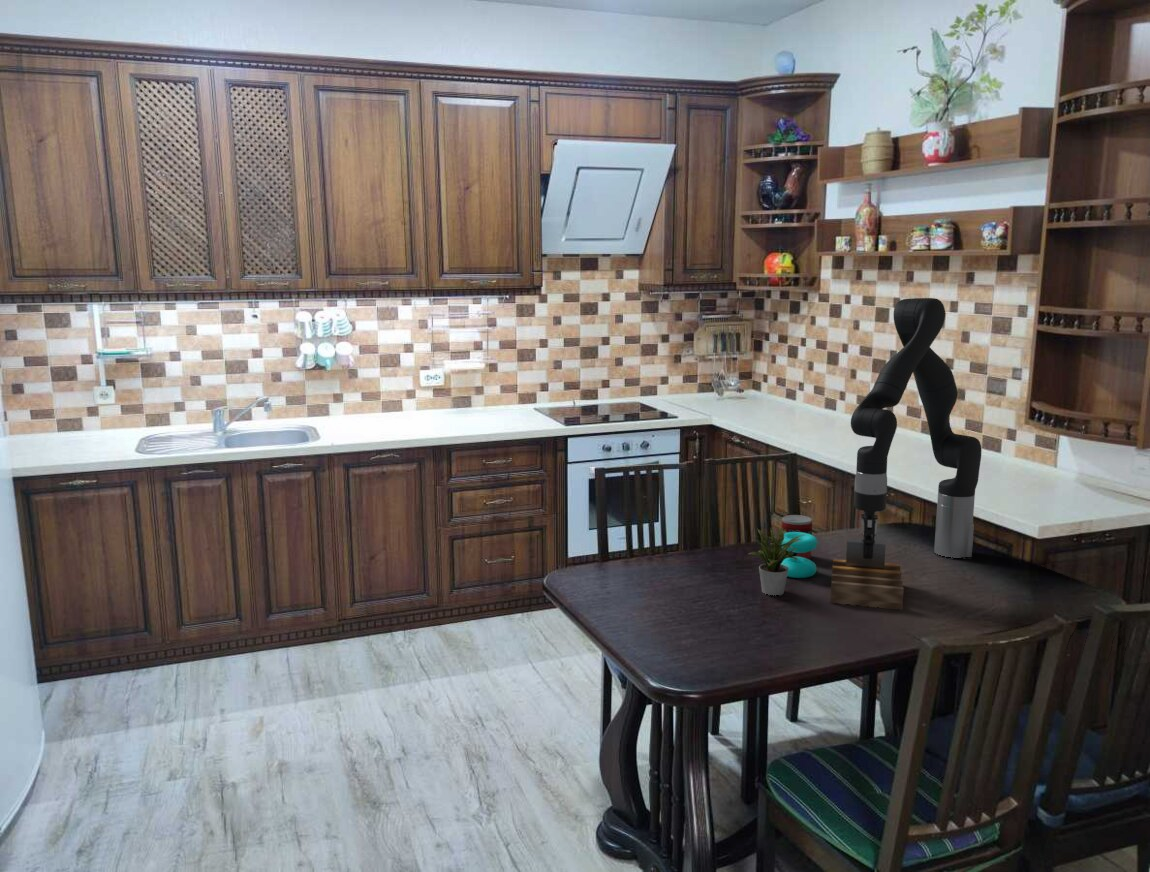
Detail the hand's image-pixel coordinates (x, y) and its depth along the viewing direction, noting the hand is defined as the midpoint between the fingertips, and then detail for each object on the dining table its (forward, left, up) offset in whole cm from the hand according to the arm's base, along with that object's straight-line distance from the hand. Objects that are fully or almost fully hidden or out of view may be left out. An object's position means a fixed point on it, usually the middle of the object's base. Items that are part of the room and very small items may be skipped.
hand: (867, 553), depth 224 cm
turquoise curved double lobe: (+17, -6, -9) cm, 20 cm away
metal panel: (+1, 0, -7) cm, 7 cm away
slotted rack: (0, +5, -9) cm, 10 cm away
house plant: (+21, +11, -9) cm, 25 cm away
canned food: (+18, -19, -9) cm, 27 cm away
